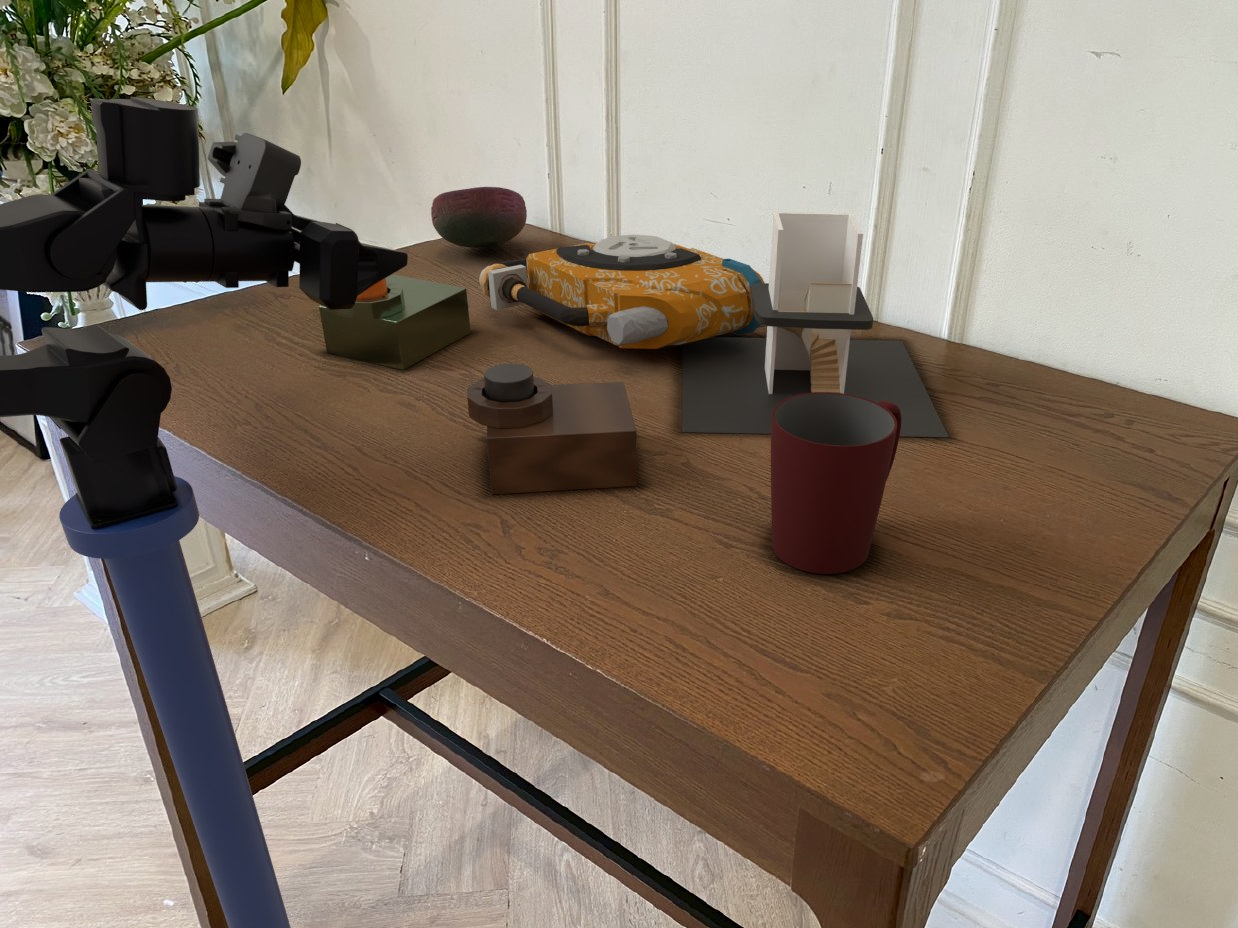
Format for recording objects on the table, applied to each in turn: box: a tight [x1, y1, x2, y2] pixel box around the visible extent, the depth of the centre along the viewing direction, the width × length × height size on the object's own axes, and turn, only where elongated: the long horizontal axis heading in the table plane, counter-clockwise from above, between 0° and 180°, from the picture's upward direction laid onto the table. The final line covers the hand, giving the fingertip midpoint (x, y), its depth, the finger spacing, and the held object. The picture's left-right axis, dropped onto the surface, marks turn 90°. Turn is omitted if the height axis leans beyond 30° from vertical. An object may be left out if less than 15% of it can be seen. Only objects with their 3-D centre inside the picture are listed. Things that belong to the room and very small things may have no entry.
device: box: [478, 234, 766, 350], centre depth 114 cm, size 23×8×30 cm
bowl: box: [430, 186, 528, 249], centre depth 137 cm, size 16×13×8 cm
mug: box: [770, 392, 902, 575], centre depth 76 cm, size 12×9×11 cm
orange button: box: [357, 278, 388, 299], centre depth 104 cm, size 4×4×2 cm
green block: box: [318, 274, 472, 371], centre depth 108 cm, size 13×10×7 cm
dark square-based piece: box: [681, 211, 950, 438], centre depth 100 cm, size 25×24×16 cm
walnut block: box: [466, 375, 638, 495], centre depth 86 cm, size 14×10×7 cm
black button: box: [483, 362, 534, 403], centre depth 84 cm, size 4×4×2 cm
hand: (379, 247), depth 91 cm, fingers open, 9 cm apart
